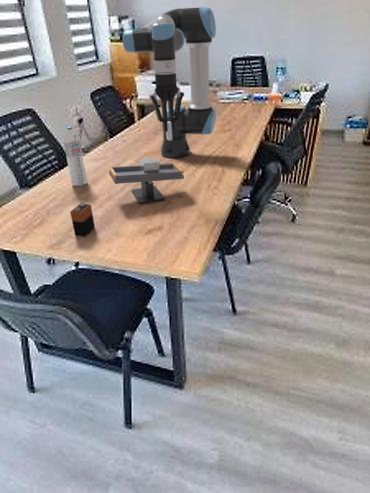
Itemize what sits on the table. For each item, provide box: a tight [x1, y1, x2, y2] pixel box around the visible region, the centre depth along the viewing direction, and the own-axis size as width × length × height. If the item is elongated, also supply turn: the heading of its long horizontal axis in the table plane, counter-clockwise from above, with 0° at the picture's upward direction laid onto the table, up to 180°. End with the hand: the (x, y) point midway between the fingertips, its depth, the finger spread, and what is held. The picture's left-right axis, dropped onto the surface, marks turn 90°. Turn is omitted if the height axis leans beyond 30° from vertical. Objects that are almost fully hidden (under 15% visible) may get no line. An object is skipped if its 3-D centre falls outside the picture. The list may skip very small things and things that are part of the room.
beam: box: [108, 162, 185, 185], centre depth 157 cm, size 27×12×4 cm, turn 110°
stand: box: [131, 181, 166, 206], centre depth 160 cm, size 10×14×7 cm
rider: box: [139, 157, 160, 173], centre depth 156 cm, size 6×6×5 cm
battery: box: [70, 201, 95, 237], centre depth 136 cm, size 4×7×10 cm, turn 163°
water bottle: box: [62, 126, 88, 188], centre depth 170 cm, size 7×7×25 cm
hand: (169, 139), depth 154 cm, fingers closed
